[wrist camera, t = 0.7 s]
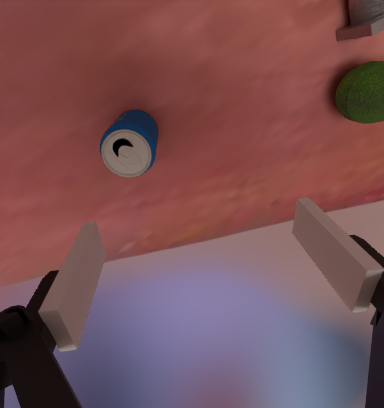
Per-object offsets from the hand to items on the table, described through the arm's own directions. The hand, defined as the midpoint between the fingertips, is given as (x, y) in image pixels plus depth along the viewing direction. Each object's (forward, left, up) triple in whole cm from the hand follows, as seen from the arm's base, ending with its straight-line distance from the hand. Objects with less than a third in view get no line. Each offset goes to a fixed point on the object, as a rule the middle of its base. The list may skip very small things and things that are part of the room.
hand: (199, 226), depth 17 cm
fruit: (+6, +26, -27) cm, 38 cm away
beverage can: (-3, -6, -27) cm, 28 cm away
